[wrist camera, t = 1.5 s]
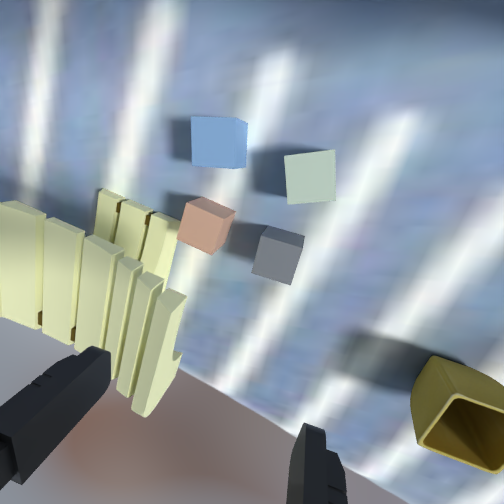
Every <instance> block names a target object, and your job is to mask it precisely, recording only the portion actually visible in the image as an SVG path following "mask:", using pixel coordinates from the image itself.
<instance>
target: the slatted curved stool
mask: <svg viewBox="0 0 504 504" xmlns="http://www.w3.org/2000/svg"><path fill="white" fill-rule="evenodd" d="M124 200H125V197H123V196H121V195H118V194H116V193H114V192H111V191H109V190H106V189H104V188H102V190H101V191H100V192H99V195H98V204H97V212H96V220H95V227H94V233H93V235H90V236H87V237H85V231H84V230H82V229H79V228H77V227H75V226H73V225H70V224H68V223H66V222H64V221H61V220H59V219H57V218H55V217H52V218H48V219H46V213H43V212H41V211H39V210H37V209H34V208H32V207H30V206H28V205H25V204H23V203H21V202H19V201H16V200H14V201H7V202H0V317H5V318H7V319H10V320H13V321H15V322H17V323H20V324H22V325H25V326H27V327H30V328H32V329H40V328H42V333H44V334H46V335H48V336H51V337H53V338H55V339H57V340H59V341H61V342H63V343H65V344H66V345H71V344H73V343H75V346H74V349H75V350H77V351H79V352H80V353H82V352H83V351H84V350H85V349H86V348H88V347H90V346H95V347H98V348H101V349H104V350H107V351H109V352H110V353H111V379H115V378H117V377H118V382H117V387H116V389H117V390H118V391H119V392H120V393H121V394H122V395H124V396H125V397H127V398H128V397H131V396H132V395H133V394H134V393H135V394H134V398H133V403H132V406H131V409H132V410H133V411H134V412H135V413H137V414H139V415H141V416H143V417H147V416H148V415H149V414H150V413H151V412H152V410H153V409H154V408H155V407H156V405H157V403H158V402H159V401H160V399H161V397H162V396H163V394H164V393H165V391H166V390H167V388H168V387H169V385H170V384H171V382H172V380H173V379H174V377H175V375H176V372H177V369H178V366H179V363H180V359H181V356H182V353H181V352H177V351H174V350H173V349H174V344H175V340H176V336H177V332H178V328H179V324H180V320H181V317H182V313H183V310H184V306H185V303H186V299H187V296H186V295H183V294H181V293H179V292H177V291H175V290H172V289H170V288H168V289H166V290H165V288H166V284H167V280H168V276H169V272H170V268H171V264H172V260H173V256H174V252H175V248H176V244H177V240H178V239H176V238H177V234H178V231H179V227H180V224H181V221H179V220H177V219H174V218H172V217H170V216H167V215H165V214H163V213H160V212H157V213H154V214H153V213H152V212H153V209H151V208H149V207H146V206H144V205H142V204H139V203H137V202H135V201H132V200H127V201H124Z"/></svg>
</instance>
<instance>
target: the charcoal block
mask: <svg viewBox="0 0 504 504" xmlns="http://www.w3.org/2000/svg"><path fill="white" fill-rule="evenodd" d="M304 237H305V236H303V235H299V234H296V233H292V232H289V231H285V230H282V229H279V228H275V227H272V226H267V228H266V229H265V231H264V232H263V233H262V235H261V237H260V241H259V245H258V249H257V253H256V257H255V261H254V265H253V268H252V272H251V273H253V274H256V275H259V276H262V277H266V278H269V279H272V280H275V281H278V282H281V283H285V284H288V285H291V283H292V280H293V276H294V273H295V270H296V267H297V264H298V261H299V258H300V255H301V252H302V249H303V244H304Z"/></svg>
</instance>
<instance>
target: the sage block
mask: <svg viewBox="0 0 504 504" xmlns="http://www.w3.org/2000/svg"><path fill="white" fill-rule="evenodd" d="M284 161H285V175H286V188H287V202H288V204H300V203H312V202H325V201H336V181H335V149H334V150H326V151H319V152H311V153H303V154H295V155H287V156H284Z"/></svg>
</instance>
